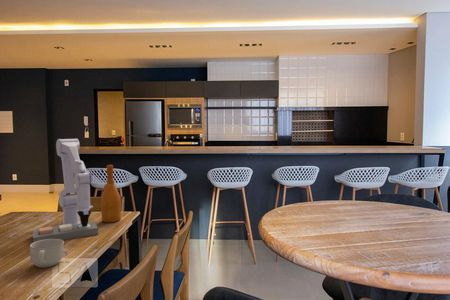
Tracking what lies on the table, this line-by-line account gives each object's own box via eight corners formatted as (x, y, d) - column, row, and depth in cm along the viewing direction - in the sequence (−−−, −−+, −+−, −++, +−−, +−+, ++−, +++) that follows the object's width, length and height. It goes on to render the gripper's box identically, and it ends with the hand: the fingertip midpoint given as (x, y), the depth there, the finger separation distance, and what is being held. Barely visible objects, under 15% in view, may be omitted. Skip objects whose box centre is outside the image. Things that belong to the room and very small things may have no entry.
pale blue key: (78, 229, 153) (78, 225, 152) (89, 227, 155) (89, 223, 155) (79, 232, 148) (79, 228, 148) (91, 230, 151) (91, 226, 151)
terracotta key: (39, 232, 144) (39, 228, 144) (52, 230, 147) (51, 226, 147) (39, 235, 140) (39, 231, 140) (52, 233, 143) (52, 229, 142)
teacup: (39, 258, 121) (38, 238, 121) (69, 257, 122) (68, 237, 122) (19, 275, 107) (18, 252, 107) (53, 274, 108) (52, 251, 108)
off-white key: (59, 229, 148) (59, 225, 148) (71, 227, 151) (71, 223, 151) (60, 232, 144) (60, 228, 144) (72, 230, 147) (72, 226, 147)
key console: (33, 236, 146) (33, 230, 146) (94, 227, 159) (93, 221, 159) (33, 244, 136) (32, 237, 136) (98, 234, 149) (97, 227, 149)
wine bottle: (116, 216, 178) (114, 163, 176) (124, 220, 171) (122, 164, 169) (98, 220, 172) (96, 164, 169) (106, 224, 164) (104, 166, 162)
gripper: (95, 199, 146) (96, 228, 147) (90, 194, 159) (91, 221, 160) (78, 201, 143) (79, 231, 144) (74, 195, 155) (75, 223, 156)
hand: (84, 226), depth 152 cm, fingers closed, pressing on pale blue key
